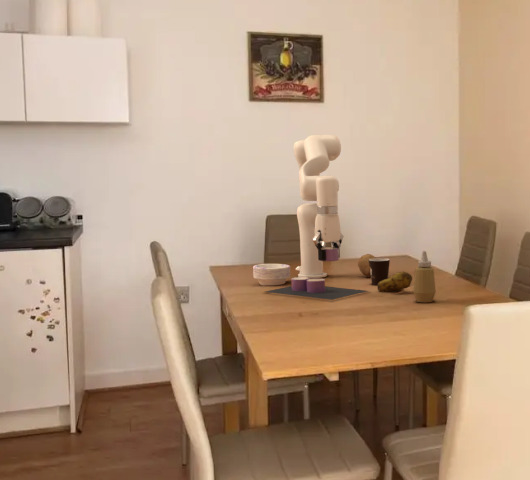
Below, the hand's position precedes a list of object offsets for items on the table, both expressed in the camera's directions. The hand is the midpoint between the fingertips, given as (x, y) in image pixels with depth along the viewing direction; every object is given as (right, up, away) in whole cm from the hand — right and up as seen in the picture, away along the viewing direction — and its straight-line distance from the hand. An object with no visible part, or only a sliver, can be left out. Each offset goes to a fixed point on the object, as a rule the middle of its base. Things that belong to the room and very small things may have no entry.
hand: (329, 258), depth 288 cm
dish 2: (0, 0, 0) cm, 1 cm away
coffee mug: (+18, -7, +31) cm, 37 cm away
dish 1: (-12, -10, +15) cm, 22 cm away
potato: (+25, -12, +9) cm, 29 cm away
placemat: (-6, -12, +11) cm, 17 cm away
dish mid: (-6, -11, +11) cm, 17 cm away
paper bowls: (-26, -8, +32) cm, 42 cm away
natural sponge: (+13, -3, +49) cm, 51 cm away
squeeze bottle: (+35, -16, -10) cm, 40 cm away
